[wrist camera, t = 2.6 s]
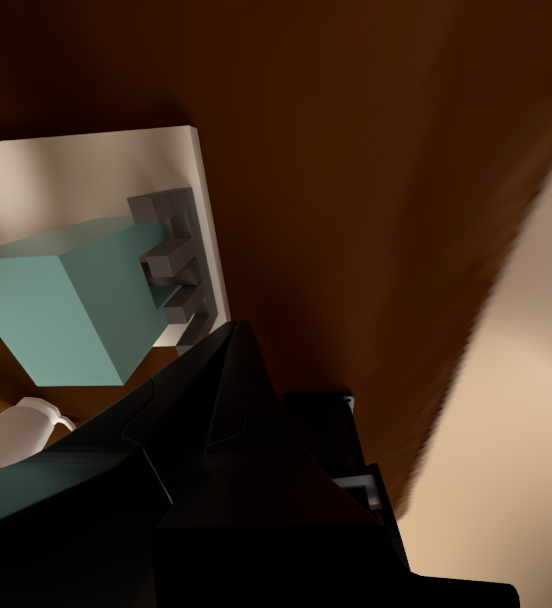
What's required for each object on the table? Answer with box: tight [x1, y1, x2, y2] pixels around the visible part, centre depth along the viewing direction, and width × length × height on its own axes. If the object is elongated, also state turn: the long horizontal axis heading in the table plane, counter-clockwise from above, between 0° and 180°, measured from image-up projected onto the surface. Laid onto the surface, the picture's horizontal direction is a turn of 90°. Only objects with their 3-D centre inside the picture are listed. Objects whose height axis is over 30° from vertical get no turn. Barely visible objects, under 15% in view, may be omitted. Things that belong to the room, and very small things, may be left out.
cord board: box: [0, 126, 231, 356], centre depth 15 cm, size 18×14×6 cm
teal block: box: [0, 216, 181, 386], centre depth 13 cm, size 4×6×7 cm
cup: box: [0, 397, 76, 468], centre depth 23 cm, size 7×10×8 cm
